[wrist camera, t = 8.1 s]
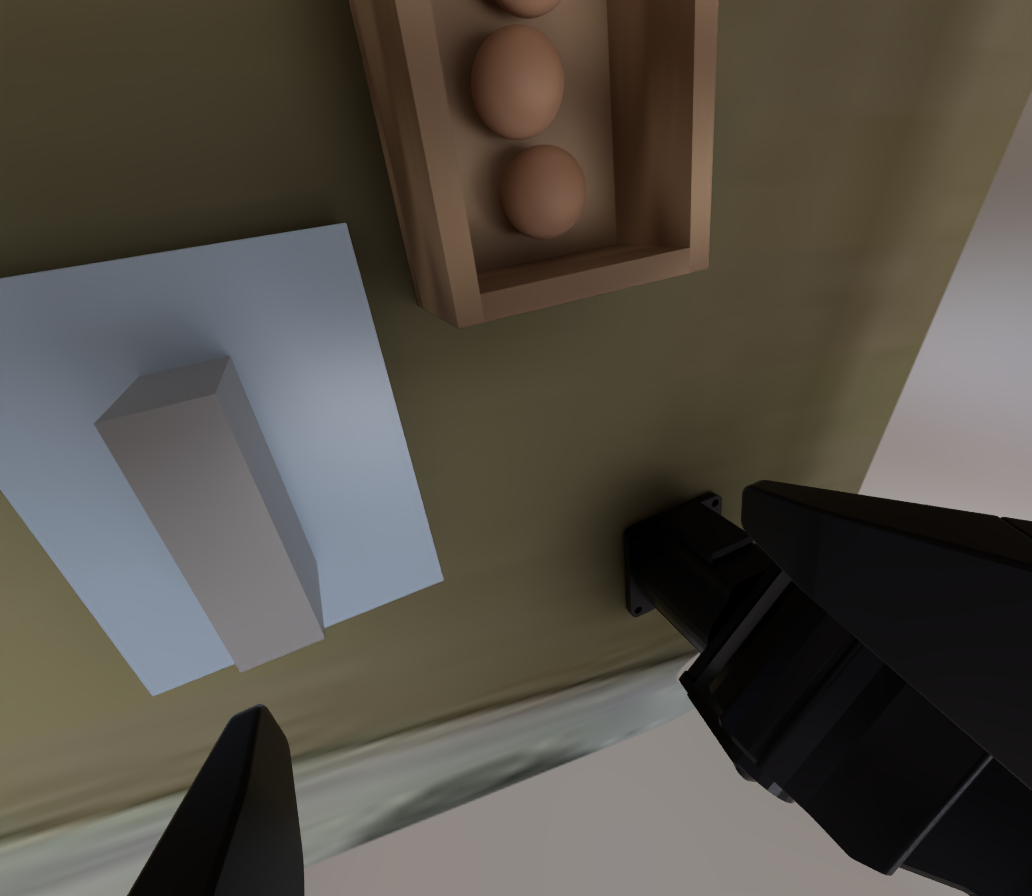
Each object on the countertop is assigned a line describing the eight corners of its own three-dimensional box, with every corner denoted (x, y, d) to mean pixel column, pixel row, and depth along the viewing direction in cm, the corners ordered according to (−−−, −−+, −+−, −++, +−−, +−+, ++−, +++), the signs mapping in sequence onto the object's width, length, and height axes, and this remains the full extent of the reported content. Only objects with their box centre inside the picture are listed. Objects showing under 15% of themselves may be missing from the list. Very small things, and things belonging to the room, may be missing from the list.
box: (623, 260, 21) (708, 268, 17) (418, 305, 18) (458, 328, 14) (607, -145, 15) (729, -282, 11) (311, -164, 13) (325, -356, 9)
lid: (431, 554, 23) (474, 647, 18) (163, 656, 19) (122, 805, 14) (339, 223, 16) (365, 221, 11) (-85, 291, 13) (-315, 332, 8)
